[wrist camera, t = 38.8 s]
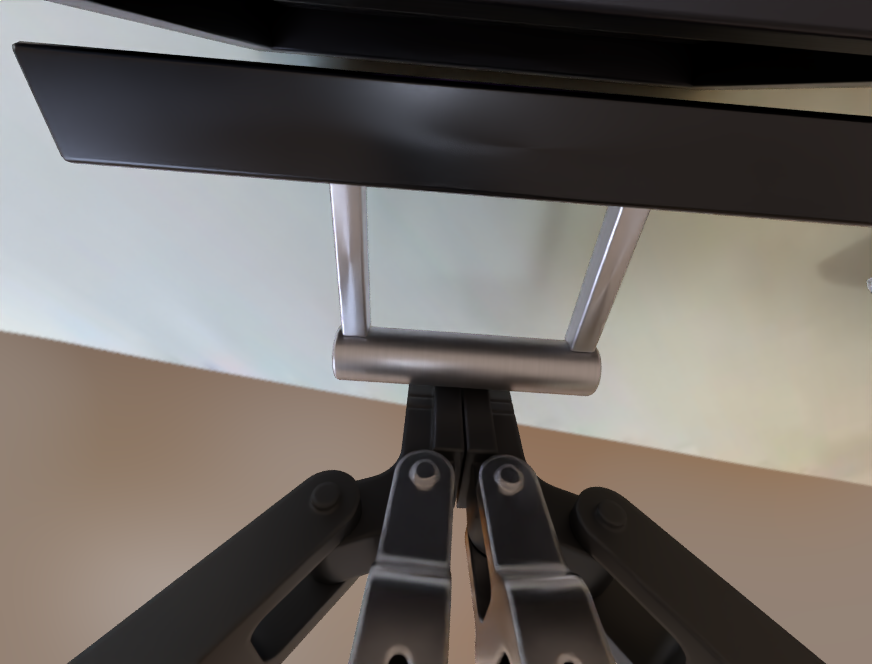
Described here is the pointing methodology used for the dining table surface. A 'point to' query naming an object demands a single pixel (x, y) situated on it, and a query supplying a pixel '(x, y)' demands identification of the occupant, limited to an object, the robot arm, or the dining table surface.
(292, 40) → the cabinet
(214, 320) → the dining table surface
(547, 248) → the dining table surface
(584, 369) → the drawer
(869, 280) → the packaged food
